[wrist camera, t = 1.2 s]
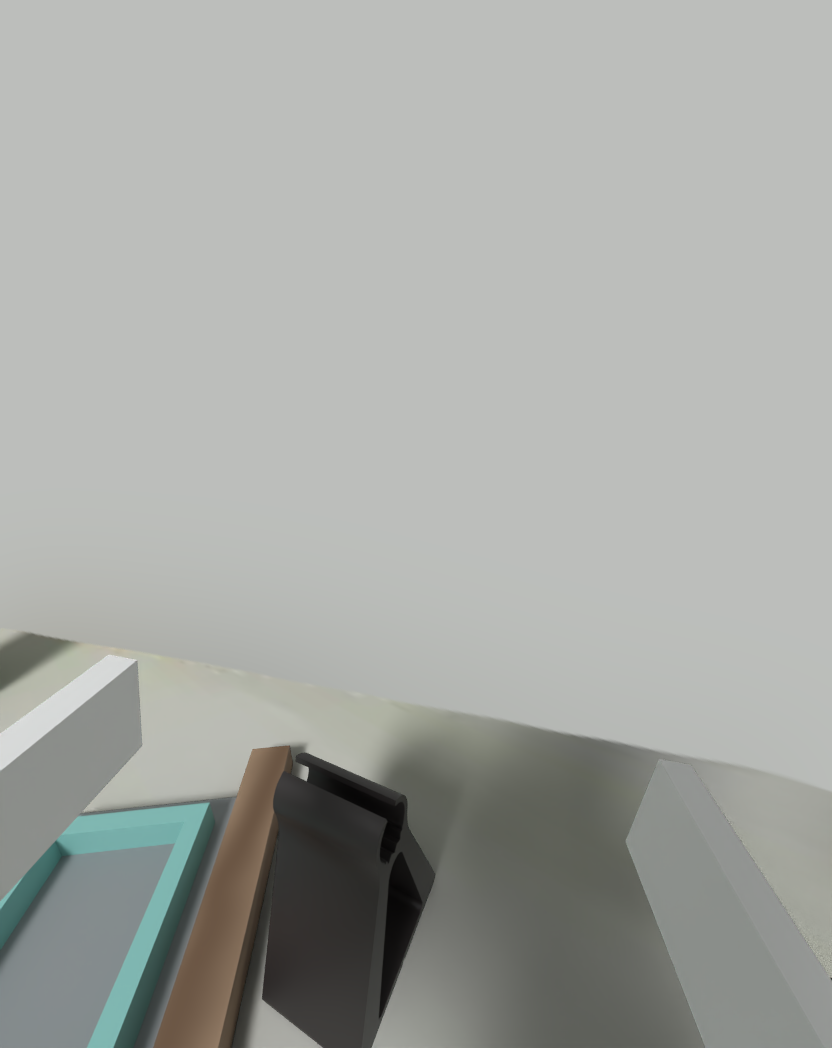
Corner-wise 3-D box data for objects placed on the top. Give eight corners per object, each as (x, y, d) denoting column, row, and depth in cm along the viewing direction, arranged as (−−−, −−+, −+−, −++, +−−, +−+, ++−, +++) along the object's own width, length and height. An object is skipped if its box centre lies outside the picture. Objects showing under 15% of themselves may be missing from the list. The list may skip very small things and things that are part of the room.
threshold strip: (292, 763, 35) (289, 745, 34) (141, 1460, 13) (123, 1448, 12) (256, 767, 35) (252, 749, 34) (36, 1481, 12) (11, 1471, 12)
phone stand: (357, 837, 29) (341, 703, 25) (436, 878, 27) (431, 736, 23) (262, 1002, 22) (216, 848, 18) (358, 1080, 19) (331, 922, 15)
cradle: (239, 802, 32) (233, 777, 31) (85, 1279, 15) (61, 1255, 14) (61, 821, 31) (49, 796, 30) (-314, 1351, 14) (-365, 1330, 13)
